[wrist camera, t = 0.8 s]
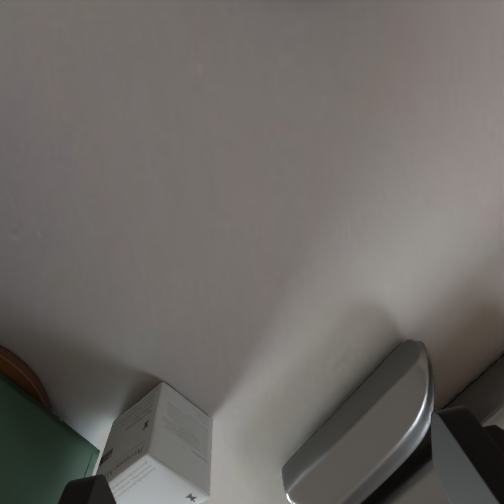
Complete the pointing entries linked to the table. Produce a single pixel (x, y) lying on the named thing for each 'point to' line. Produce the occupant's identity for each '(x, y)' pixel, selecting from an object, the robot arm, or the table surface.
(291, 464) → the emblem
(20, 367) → the turntable
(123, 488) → the product carton
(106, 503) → the robot arm
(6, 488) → the bin
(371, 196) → the table surface
